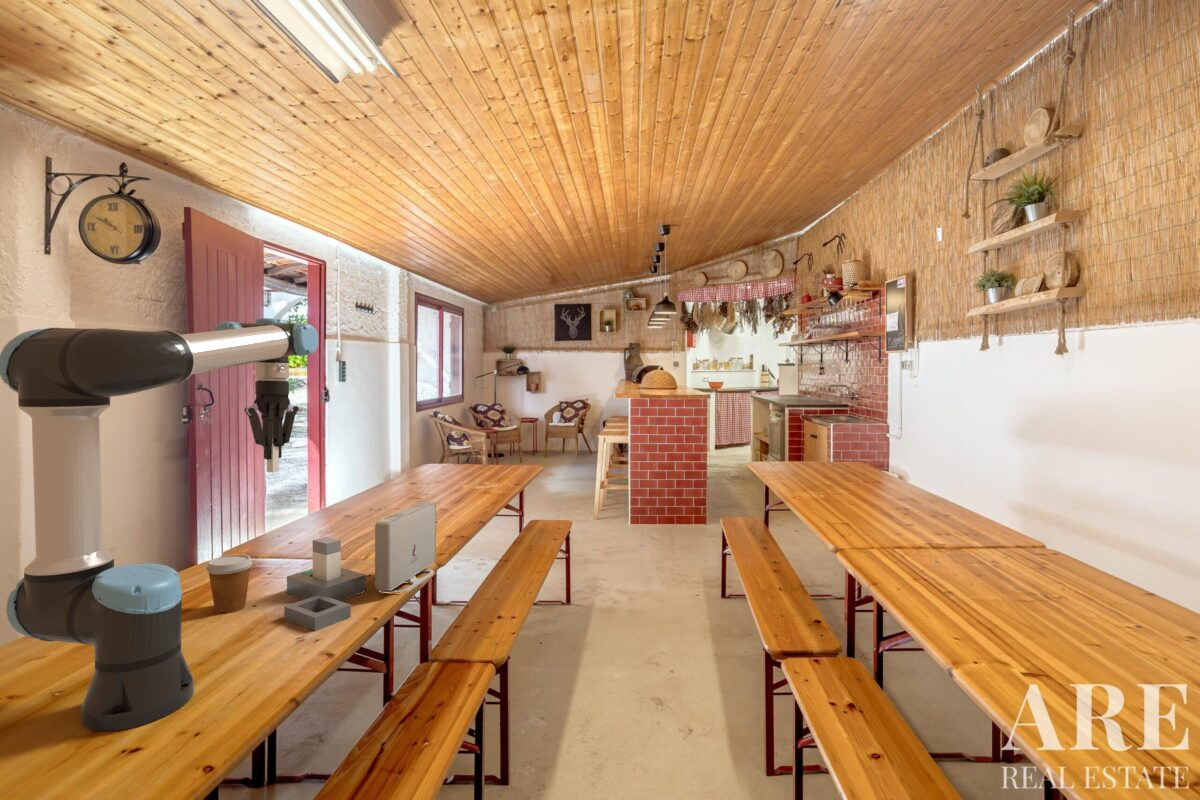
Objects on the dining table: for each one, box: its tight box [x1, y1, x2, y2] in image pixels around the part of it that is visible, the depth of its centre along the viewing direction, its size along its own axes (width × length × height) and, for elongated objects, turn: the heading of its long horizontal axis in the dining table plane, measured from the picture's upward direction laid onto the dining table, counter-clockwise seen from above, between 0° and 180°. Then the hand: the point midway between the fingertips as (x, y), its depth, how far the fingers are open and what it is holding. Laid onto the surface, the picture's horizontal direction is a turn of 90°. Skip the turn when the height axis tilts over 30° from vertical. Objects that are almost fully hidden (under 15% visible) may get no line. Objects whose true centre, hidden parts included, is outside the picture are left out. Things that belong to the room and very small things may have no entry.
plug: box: [312, 536, 342, 581], centre depth 152 cm, size 4×6×14 cm, turn 59°
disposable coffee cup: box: [205, 553, 253, 614], centre depth 141 cm, size 10×10×12 cm
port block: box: [286, 567, 367, 601], centre depth 152 cm, size 12×16×5 cm
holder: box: [283, 594, 352, 632], centre depth 136 cm, size 9×12×3 cm
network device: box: [374, 501, 437, 594], centre depth 161 cm, size 26×9×20 cm, turn 168°
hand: (272, 471), depth 148 cm, fingers closed
